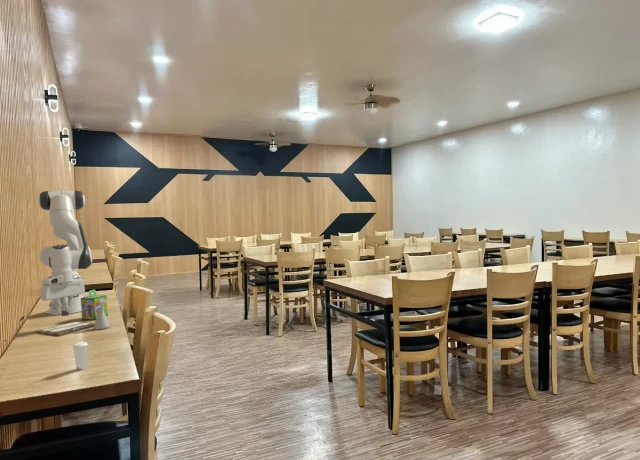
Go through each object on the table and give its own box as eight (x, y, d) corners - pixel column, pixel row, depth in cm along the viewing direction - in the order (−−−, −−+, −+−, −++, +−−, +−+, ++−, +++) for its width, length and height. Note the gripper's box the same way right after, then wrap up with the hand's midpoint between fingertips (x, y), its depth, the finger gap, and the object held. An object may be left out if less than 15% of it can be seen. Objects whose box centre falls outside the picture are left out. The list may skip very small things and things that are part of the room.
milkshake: (70, 369, 150) (67, 341, 149) (87, 365, 153) (84, 337, 153) (74, 372, 146) (71, 343, 146) (91, 368, 150) (89, 339, 150)
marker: (60, 315, 211) (58, 291, 211) (66, 314, 214) (64, 290, 214) (64, 316, 210) (62, 291, 210) (70, 314, 213) (68, 290, 212)
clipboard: (37, 333, 204) (37, 329, 204) (76, 323, 221) (76, 319, 221) (59, 336, 196) (59, 331, 196) (97, 325, 213) (97, 321, 213)
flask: (113, 325, 211) (111, 305, 211) (104, 329, 204) (103, 308, 203) (99, 326, 212) (97, 306, 211) (90, 330, 204) (88, 309, 204)
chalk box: (95, 320, 226) (93, 291, 225) (81, 319, 229) (79, 291, 228) (108, 315, 235) (106, 288, 234) (95, 315, 237) (93, 288, 237)
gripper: (78, 275, 222) (80, 301, 223) (37, 281, 204) (39, 310, 204) (86, 275, 219) (88, 302, 220) (45, 281, 201) (47, 311, 201)
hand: (64, 306), depth 212 cm, fingers closed on marker, 3 cm apart
